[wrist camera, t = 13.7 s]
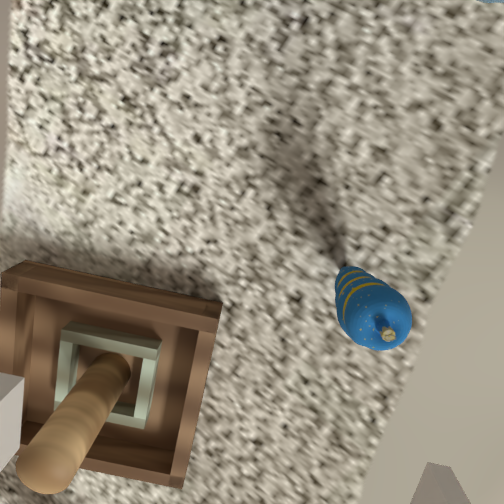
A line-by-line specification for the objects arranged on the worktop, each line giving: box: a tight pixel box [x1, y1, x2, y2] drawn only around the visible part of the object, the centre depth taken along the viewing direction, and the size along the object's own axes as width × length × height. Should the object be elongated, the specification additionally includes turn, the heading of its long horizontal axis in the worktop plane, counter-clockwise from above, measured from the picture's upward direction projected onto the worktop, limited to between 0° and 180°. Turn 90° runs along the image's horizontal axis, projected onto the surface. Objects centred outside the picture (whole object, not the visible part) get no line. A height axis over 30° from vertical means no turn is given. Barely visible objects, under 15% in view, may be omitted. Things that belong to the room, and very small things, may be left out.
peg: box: [16, 353, 131, 494], centre depth 38 cm, size 4×4×14 cm
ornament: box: [335, 266, 412, 350], centre depth 34 cm, size 5×5×15 cm
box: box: [0, 260, 223, 489], centre depth 43 cm, size 21×21×4 cm
